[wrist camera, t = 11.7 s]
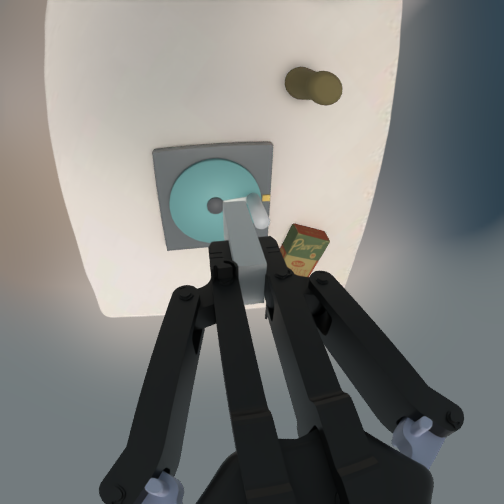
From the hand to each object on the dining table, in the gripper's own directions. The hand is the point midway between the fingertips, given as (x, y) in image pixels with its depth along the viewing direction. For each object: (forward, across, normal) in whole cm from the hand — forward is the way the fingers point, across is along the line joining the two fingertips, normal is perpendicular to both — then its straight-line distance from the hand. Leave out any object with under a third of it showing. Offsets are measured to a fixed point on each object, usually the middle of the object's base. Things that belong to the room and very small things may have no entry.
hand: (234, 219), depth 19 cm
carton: (+31, +17, -29) cm, 46 cm away
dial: (+28, 0, -13) cm, 31 cm away
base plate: (+30, 0, -13) cm, 33 cm away
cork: (+31, +15, +8) cm, 35 cm away
